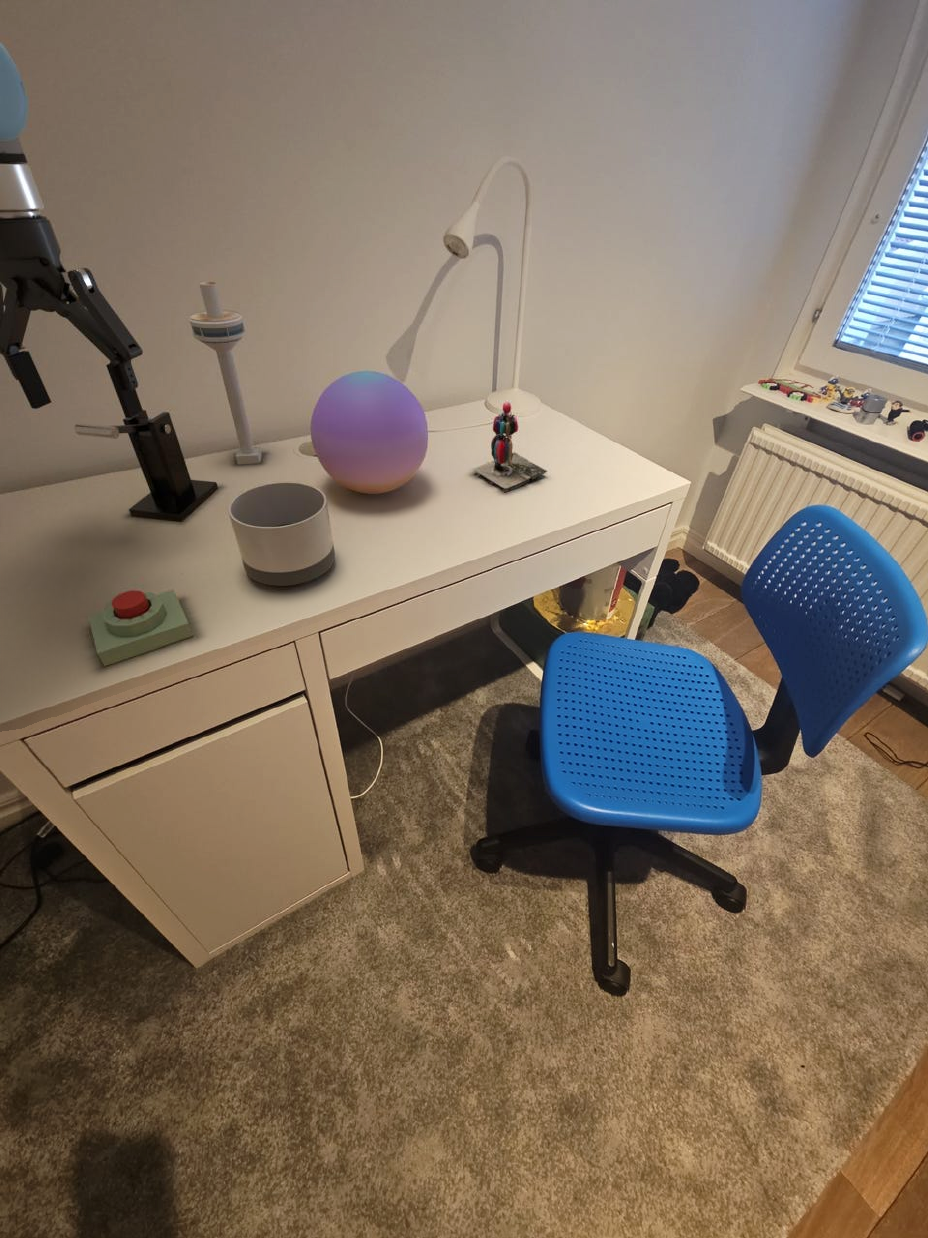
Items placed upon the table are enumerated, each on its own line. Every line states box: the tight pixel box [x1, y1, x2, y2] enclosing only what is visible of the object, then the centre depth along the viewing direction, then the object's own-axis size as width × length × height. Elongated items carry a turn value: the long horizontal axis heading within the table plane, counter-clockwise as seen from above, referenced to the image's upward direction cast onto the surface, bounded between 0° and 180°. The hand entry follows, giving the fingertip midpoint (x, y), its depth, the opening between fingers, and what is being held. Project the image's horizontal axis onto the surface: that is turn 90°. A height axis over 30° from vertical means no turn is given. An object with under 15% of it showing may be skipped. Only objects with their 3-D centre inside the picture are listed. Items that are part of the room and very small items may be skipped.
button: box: [111, 589, 150, 619], centre depth 65 cm, size 4×4×2 cm
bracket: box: [122, 409, 219, 522], centre depth 88 cm, size 12×9×15 cm
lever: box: [74, 417, 152, 439], centre depth 80 cm, size 13×6×2 cm, turn 171°
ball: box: [309, 370, 429, 495], centre depth 93 cm, size 20×20×20 cm
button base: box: [87, 589, 194, 667], centre depth 67 cm, size 10×8×4 cm
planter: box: [227, 481, 336, 587], centre depth 76 cm, size 13×13×10 cm
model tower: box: [188, 281, 263, 465], centre depth 97 cm, size 8×8×30 cm
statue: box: [473, 401, 548, 494], centre depth 100 cm, size 11×9×15 cm
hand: (87, 410), depth 73 cm, fingers open, 13 cm apart
